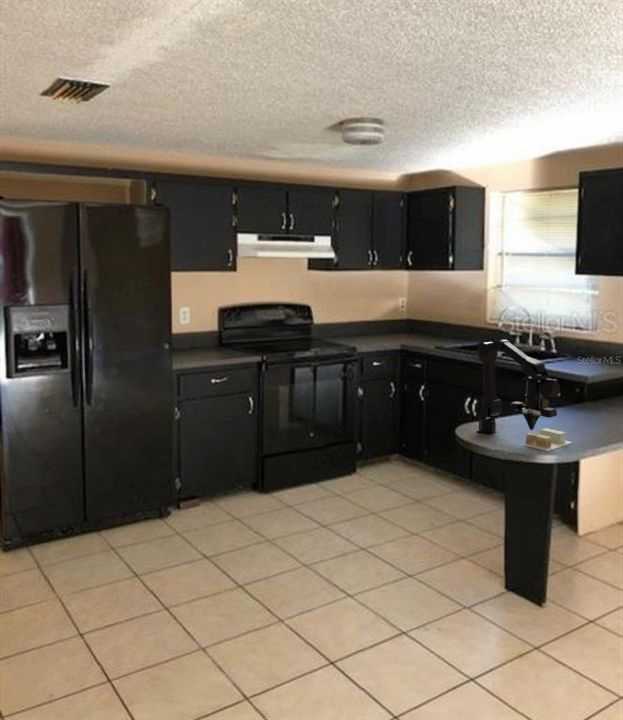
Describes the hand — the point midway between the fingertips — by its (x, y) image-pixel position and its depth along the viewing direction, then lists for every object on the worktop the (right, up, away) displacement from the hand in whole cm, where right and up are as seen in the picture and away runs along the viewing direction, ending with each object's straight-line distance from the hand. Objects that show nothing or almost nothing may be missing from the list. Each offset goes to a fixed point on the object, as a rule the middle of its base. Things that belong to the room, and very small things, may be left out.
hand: (531, 429), depth 283 cm
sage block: (+8, -2, +8) cm, 12 cm away
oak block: (-1, -4, +1) cm, 4 cm away
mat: (+7, -6, +1) cm, 10 cm away
